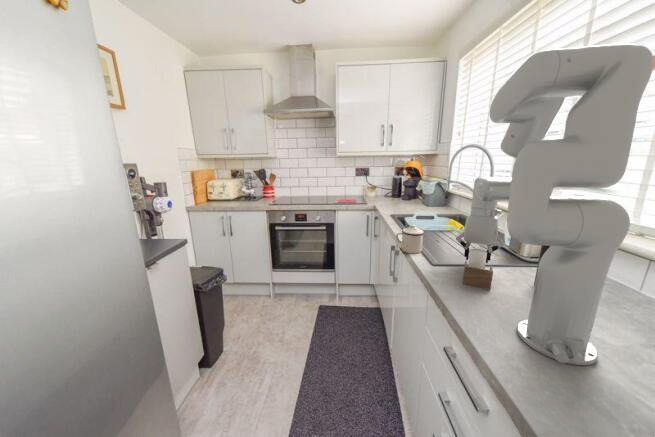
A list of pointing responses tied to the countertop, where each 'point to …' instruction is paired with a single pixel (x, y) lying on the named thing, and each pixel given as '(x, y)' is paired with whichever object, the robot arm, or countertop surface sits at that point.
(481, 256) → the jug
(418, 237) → the teacup with lid
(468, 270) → the caddy
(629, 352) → the countertop surface
